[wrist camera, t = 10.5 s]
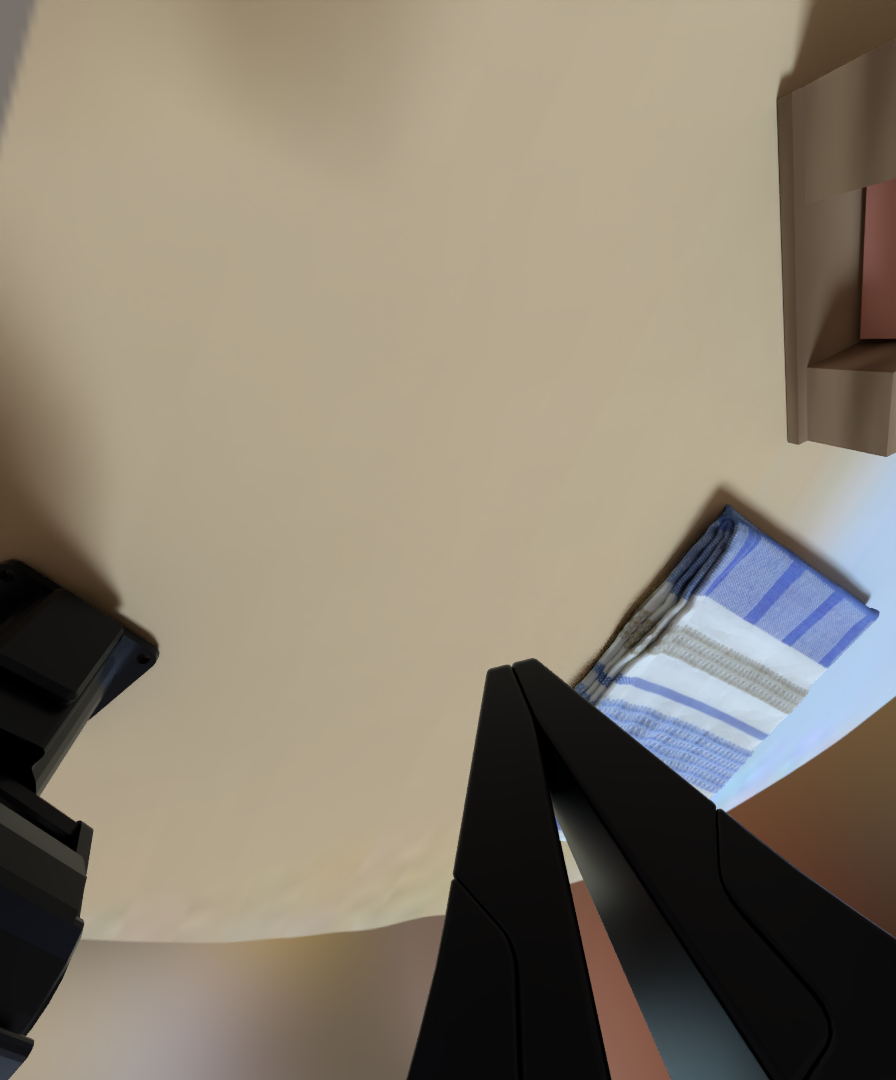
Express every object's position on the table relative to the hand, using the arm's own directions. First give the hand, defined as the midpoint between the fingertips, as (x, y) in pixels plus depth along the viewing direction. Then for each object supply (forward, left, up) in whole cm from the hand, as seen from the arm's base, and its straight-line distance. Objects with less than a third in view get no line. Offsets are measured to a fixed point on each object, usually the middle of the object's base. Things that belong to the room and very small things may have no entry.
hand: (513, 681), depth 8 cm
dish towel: (+4, -24, -14) cm, 28 cm away
